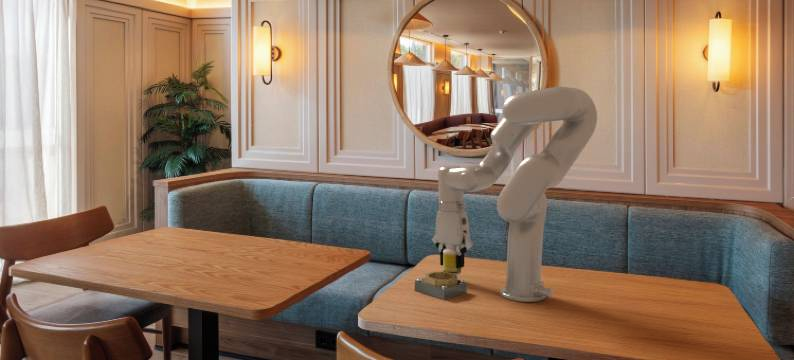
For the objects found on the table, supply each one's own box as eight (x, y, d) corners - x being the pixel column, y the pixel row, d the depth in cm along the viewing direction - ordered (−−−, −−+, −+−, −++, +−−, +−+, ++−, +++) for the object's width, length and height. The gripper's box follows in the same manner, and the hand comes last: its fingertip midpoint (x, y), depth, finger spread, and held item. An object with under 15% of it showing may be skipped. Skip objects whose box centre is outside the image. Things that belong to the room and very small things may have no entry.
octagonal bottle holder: (466, 292, 170) (467, 276, 169) (444, 299, 162) (444, 283, 162) (437, 284, 177) (437, 269, 177) (414, 290, 170) (414, 275, 169)
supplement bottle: (460, 276, 177) (459, 243, 176) (442, 275, 178) (441, 243, 177) (462, 271, 182) (461, 240, 182) (444, 271, 183) (443, 240, 183)
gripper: (481, 207, 175) (482, 268, 177) (437, 203, 187) (438, 260, 189) (466, 210, 170) (467, 272, 171) (421, 206, 182) (422, 264, 183)
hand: (452, 265), depth 180 cm, fingers closed on supplement bottle, 5 cm apart
